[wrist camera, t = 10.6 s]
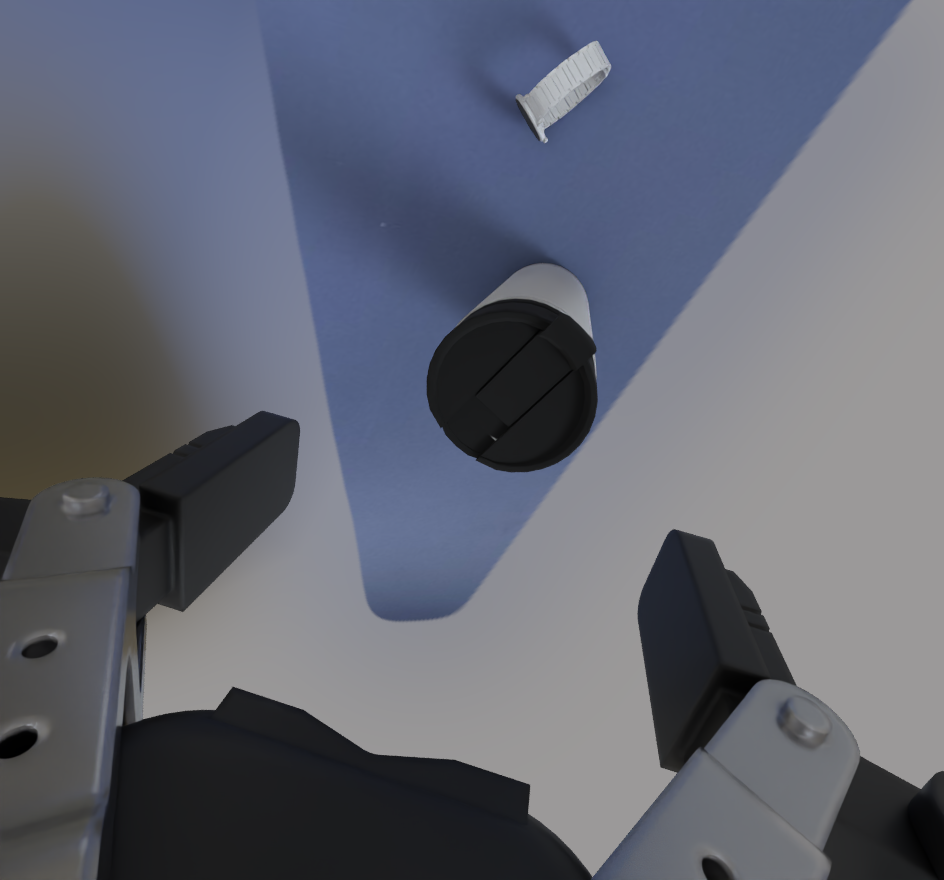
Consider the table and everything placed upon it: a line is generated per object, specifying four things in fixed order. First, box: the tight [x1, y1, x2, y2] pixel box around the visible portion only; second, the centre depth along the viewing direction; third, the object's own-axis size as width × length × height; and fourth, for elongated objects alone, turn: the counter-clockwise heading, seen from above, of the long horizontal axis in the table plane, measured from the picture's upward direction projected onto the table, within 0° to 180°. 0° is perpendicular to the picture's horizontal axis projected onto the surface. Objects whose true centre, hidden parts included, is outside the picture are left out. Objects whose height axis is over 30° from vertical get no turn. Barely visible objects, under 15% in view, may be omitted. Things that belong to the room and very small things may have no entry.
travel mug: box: [427, 263, 598, 472], centre depth 27 cm, size 6×7×20 cm
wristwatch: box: [516, 41, 611, 143], centre depth 29 cm, size 3×5×5 cm, turn 126°
